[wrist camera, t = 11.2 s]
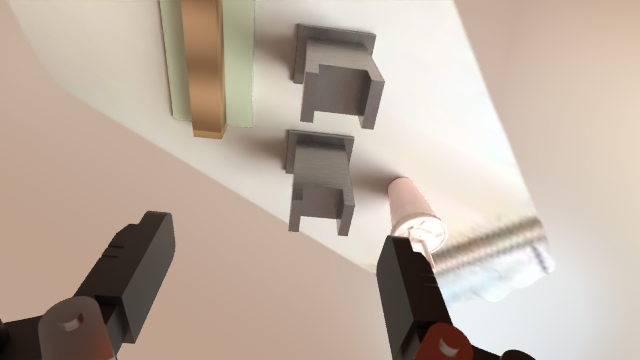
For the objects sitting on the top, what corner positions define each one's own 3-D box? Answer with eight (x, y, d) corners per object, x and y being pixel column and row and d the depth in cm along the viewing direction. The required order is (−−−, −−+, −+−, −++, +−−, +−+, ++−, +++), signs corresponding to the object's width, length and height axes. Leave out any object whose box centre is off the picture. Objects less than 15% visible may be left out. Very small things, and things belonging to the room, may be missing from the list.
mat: (156, -44, 31) (154, -44, 31) (255, -29, 32) (254, -28, 32) (175, 117, 40) (173, 119, 40) (252, 125, 41) (251, 127, 41)
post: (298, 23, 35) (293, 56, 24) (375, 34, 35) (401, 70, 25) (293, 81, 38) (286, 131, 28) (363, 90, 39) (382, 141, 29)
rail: (187, -42, 31) (176, -41, 28) (221, -37, 31) (213, -36, 29) (200, 124, 40) (193, 136, 38) (226, 127, 40) (221, 139, 38)
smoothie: (395, 213, 49) (420, 295, 38) (368, 186, 47) (387, 265, 35) (433, 190, 47) (473, 268, 36) (408, 160, 44) (442, 235, 33)
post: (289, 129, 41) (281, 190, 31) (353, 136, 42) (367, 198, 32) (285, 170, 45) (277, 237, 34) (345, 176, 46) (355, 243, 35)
